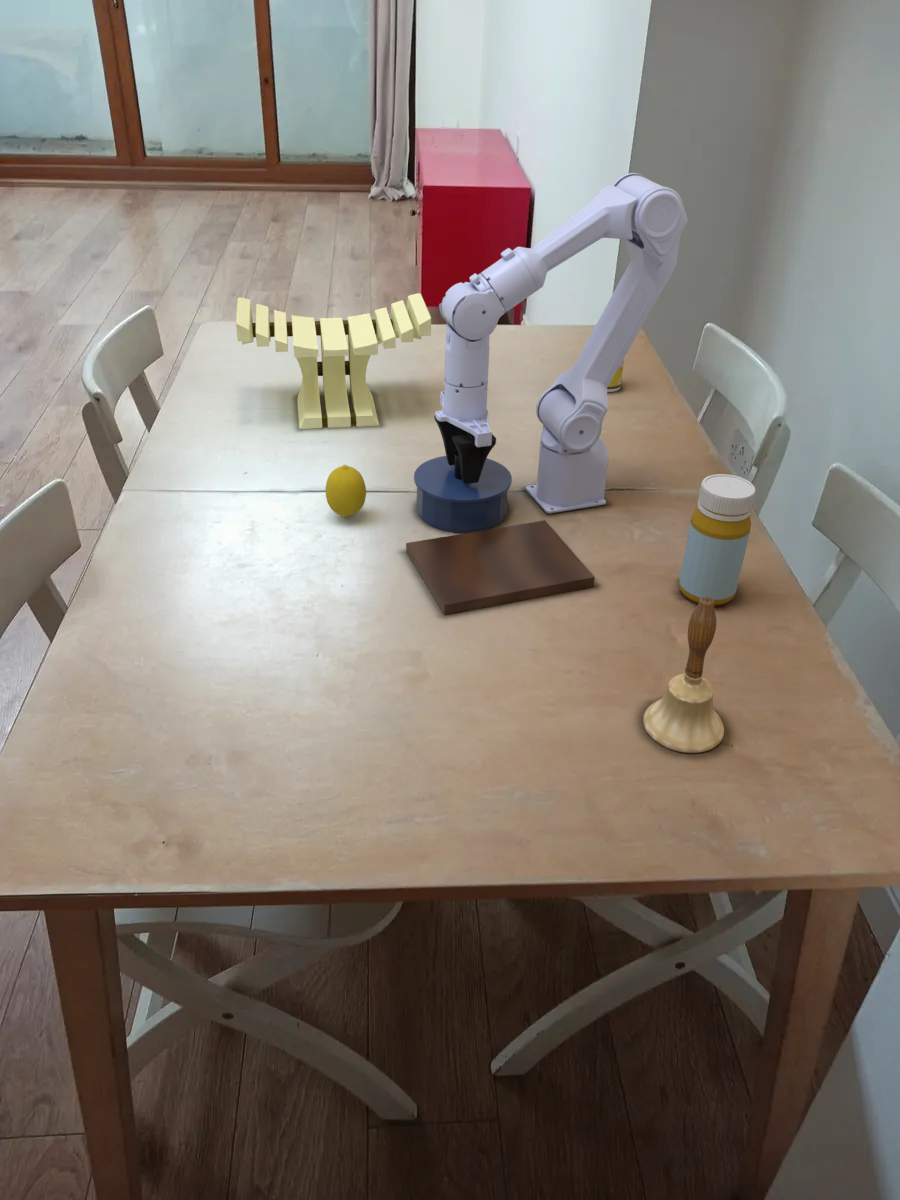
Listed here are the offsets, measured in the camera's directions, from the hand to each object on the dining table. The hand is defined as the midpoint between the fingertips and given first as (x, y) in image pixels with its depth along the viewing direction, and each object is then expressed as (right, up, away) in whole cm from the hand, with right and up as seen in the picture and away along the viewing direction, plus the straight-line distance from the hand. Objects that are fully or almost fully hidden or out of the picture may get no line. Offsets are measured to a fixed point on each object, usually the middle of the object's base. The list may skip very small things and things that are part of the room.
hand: (463, 472), depth 135 cm
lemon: (-16, -6, +1) cm, 17 cm away
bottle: (+30, -17, -13) cm, 37 cm away
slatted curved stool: (-21, +15, +32) cm, 41 cm away
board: (+4, -14, -9) cm, 17 cm away
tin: (0, -5, +3) cm, 6 cm away
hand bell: (+22, -31, -33) cm, 51 cm away
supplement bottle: (+27, +21, +42) cm, 54 cm away
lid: (0, -1, +1) cm, 1 cm away
